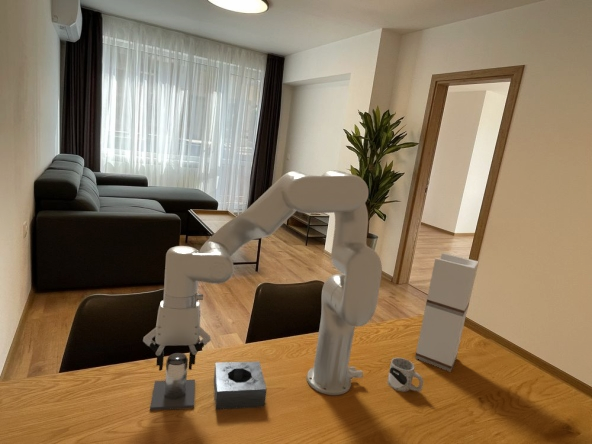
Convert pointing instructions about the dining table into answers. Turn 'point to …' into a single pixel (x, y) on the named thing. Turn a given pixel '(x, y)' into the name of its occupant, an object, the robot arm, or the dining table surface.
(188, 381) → the rubber pad
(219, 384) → the housing
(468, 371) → the dining table surface
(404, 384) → the mug
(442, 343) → the white mini fridge
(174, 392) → the silver metal cylinder
